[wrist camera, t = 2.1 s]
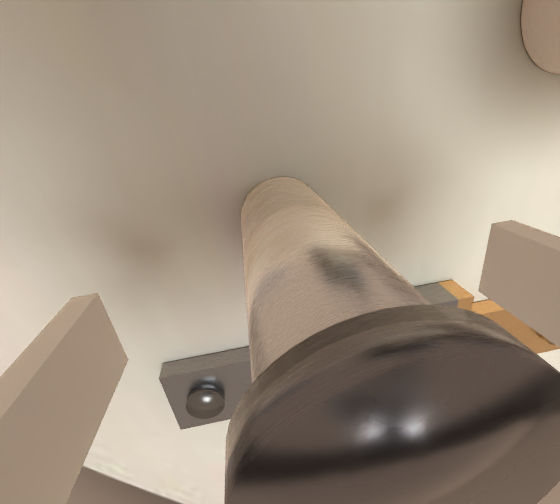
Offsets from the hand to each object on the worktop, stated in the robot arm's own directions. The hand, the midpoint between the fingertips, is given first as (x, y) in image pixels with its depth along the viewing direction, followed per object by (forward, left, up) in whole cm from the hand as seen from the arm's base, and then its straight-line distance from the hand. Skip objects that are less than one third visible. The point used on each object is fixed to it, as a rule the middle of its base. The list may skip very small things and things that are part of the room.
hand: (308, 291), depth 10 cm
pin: (0, 0, -7) cm, 7 cm away
